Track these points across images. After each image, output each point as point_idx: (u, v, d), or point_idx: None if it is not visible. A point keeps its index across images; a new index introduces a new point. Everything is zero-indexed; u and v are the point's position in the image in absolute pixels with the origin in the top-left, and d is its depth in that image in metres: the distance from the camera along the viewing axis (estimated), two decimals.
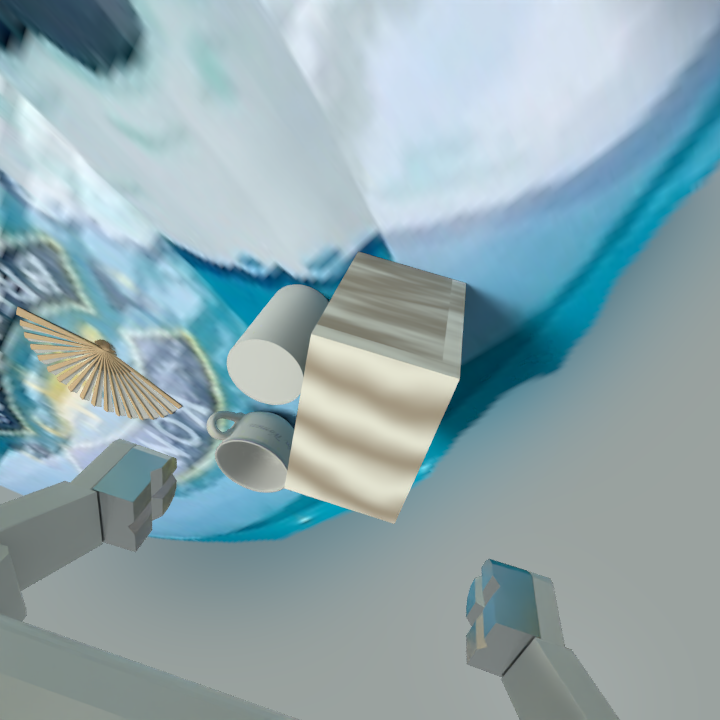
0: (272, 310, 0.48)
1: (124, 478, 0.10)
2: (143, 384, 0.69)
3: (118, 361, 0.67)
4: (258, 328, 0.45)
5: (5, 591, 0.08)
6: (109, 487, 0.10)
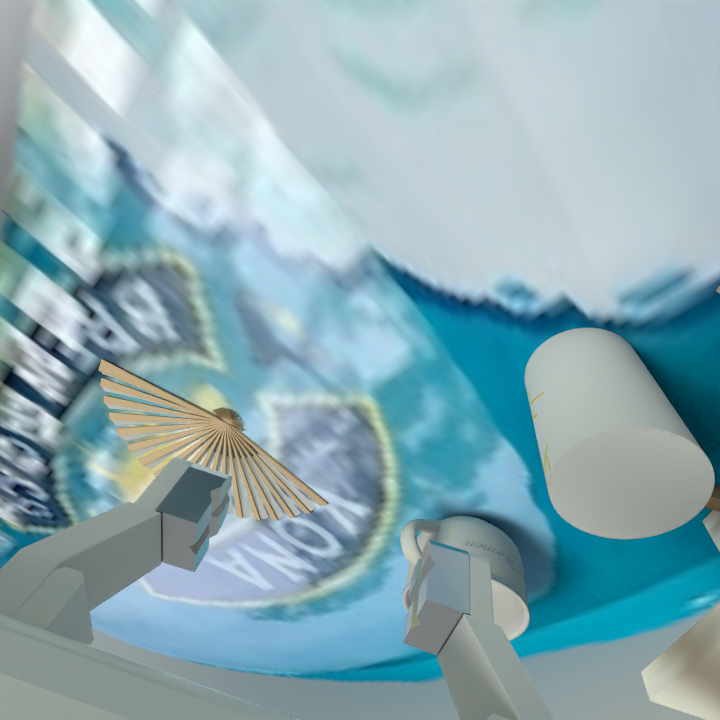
0: (600, 370, 0.28)
1: (186, 498, 0.10)
2: (274, 472, 0.47)
3: (243, 439, 0.45)
4: (617, 405, 0.25)
5: (79, 617, 0.08)
6: (172, 508, 0.10)
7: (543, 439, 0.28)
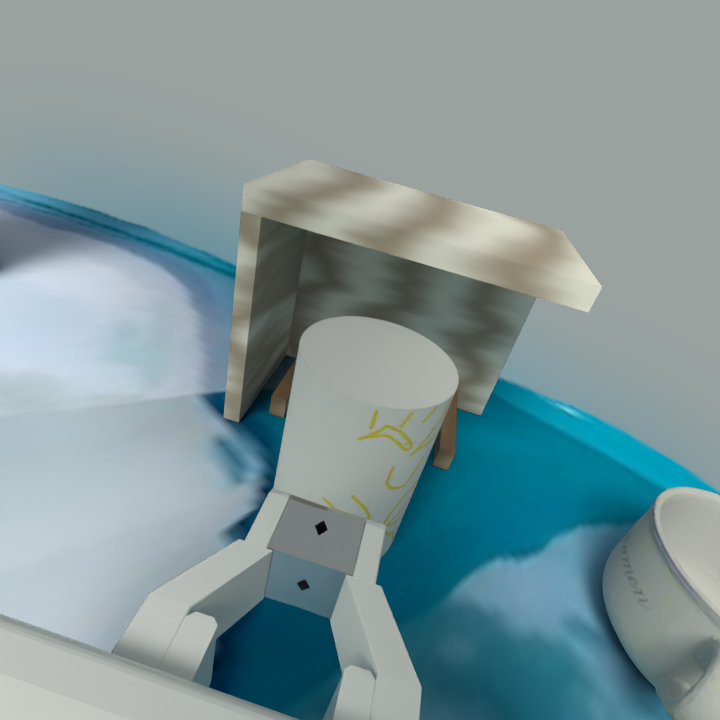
0: (283, 442, 0.25)
1: (293, 534, 0.10)
2: None
3: None
4: (293, 387, 0.23)
5: (209, 662, 0.08)
6: (283, 544, 0.10)
7: (362, 454, 0.21)
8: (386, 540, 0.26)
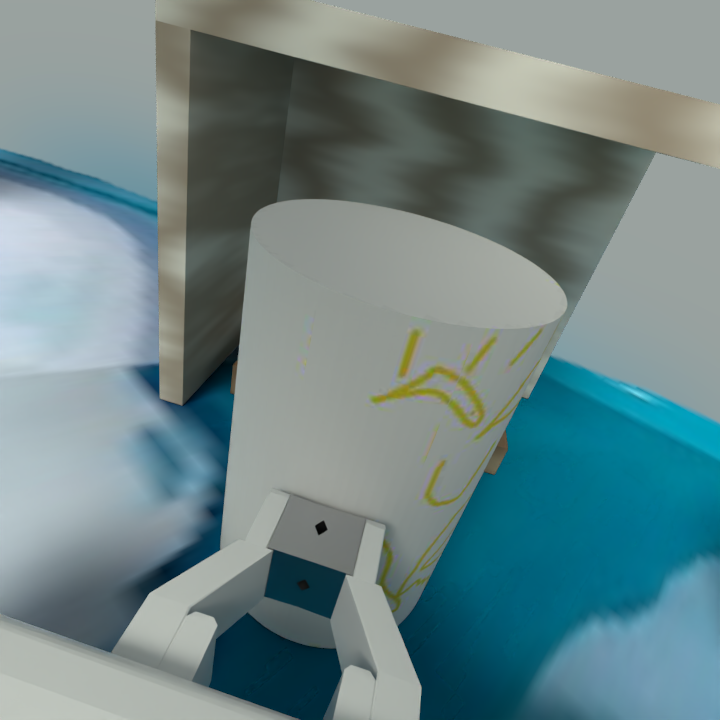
0: (232, 419, 0.14)
1: (293, 533, 0.10)
2: None
3: None
4: (243, 307, 0.12)
5: (208, 662, 0.08)
6: (283, 544, 0.10)
7: (380, 435, 0.10)
8: (417, 592, 0.15)
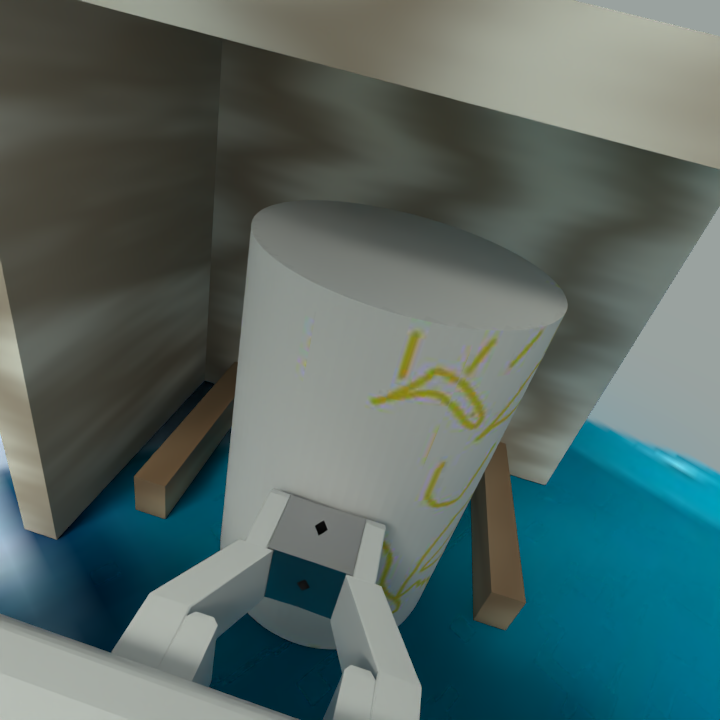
0: (232, 420, 0.14)
1: (293, 534, 0.10)
2: None
3: None
4: (243, 308, 0.12)
5: (209, 662, 0.08)
6: (283, 544, 0.10)
7: (380, 436, 0.10)
8: (417, 593, 0.15)
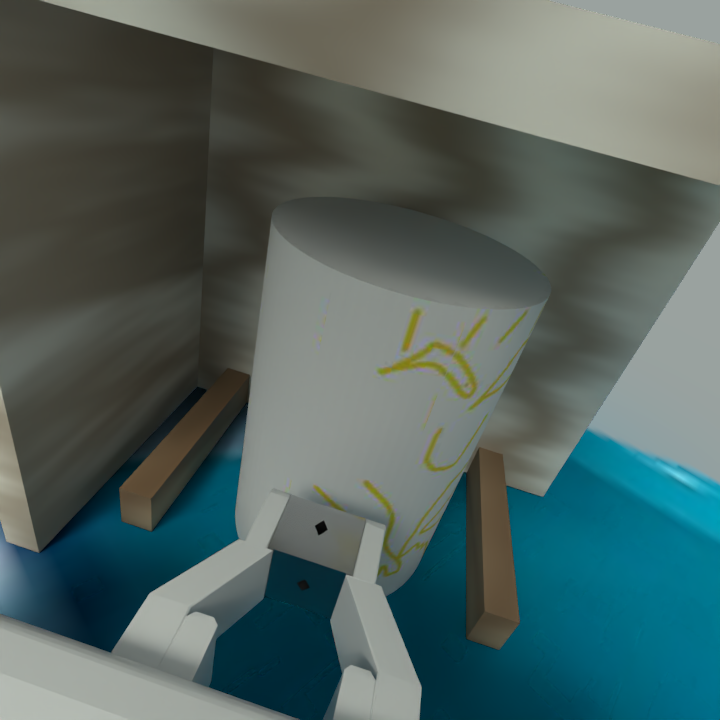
0: (250, 396, 0.15)
1: (293, 534, 0.10)
2: None
3: None
4: (263, 292, 0.13)
5: (208, 662, 0.08)
6: (283, 545, 0.10)
7: (385, 403, 0.11)
8: (416, 556, 0.16)
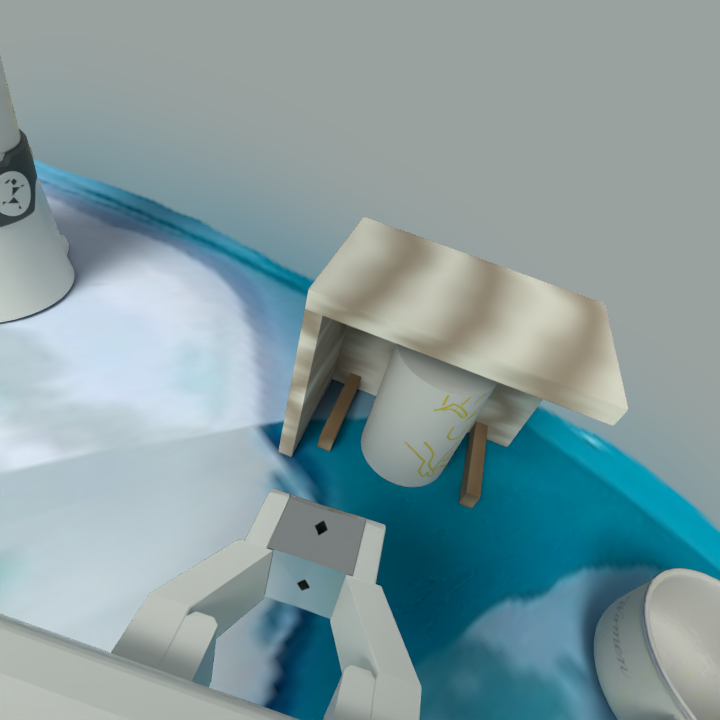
0: (378, 403, 0.37)
1: (293, 533, 0.10)
2: None
3: None
4: (391, 371, 0.35)
5: (208, 662, 0.08)
6: (283, 544, 0.10)
7: (435, 419, 0.33)
8: (440, 469, 0.39)
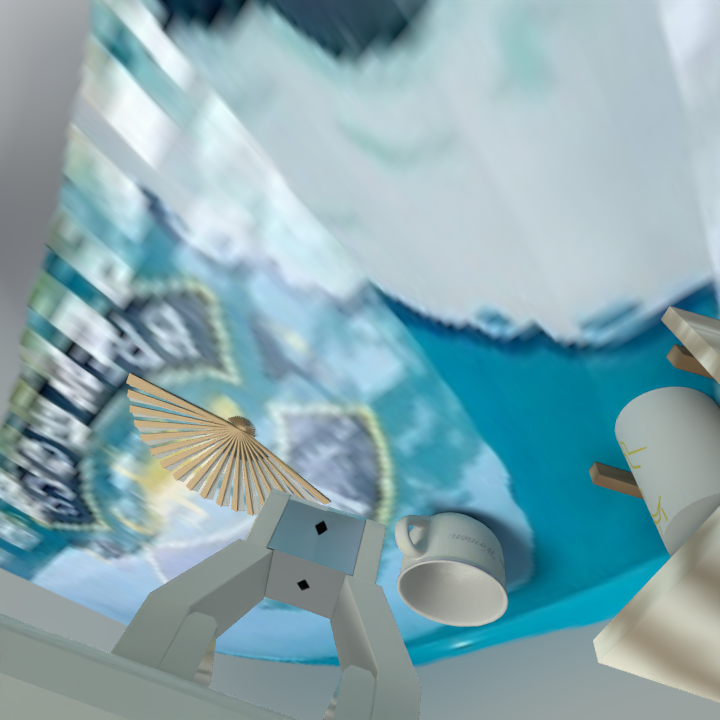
0: (701, 432, 0.33)
1: (293, 534, 0.10)
2: (282, 473, 0.52)
3: (255, 444, 0.51)
4: None
5: (208, 662, 0.08)
6: (283, 545, 0.10)
7: (653, 491, 0.33)
8: None
